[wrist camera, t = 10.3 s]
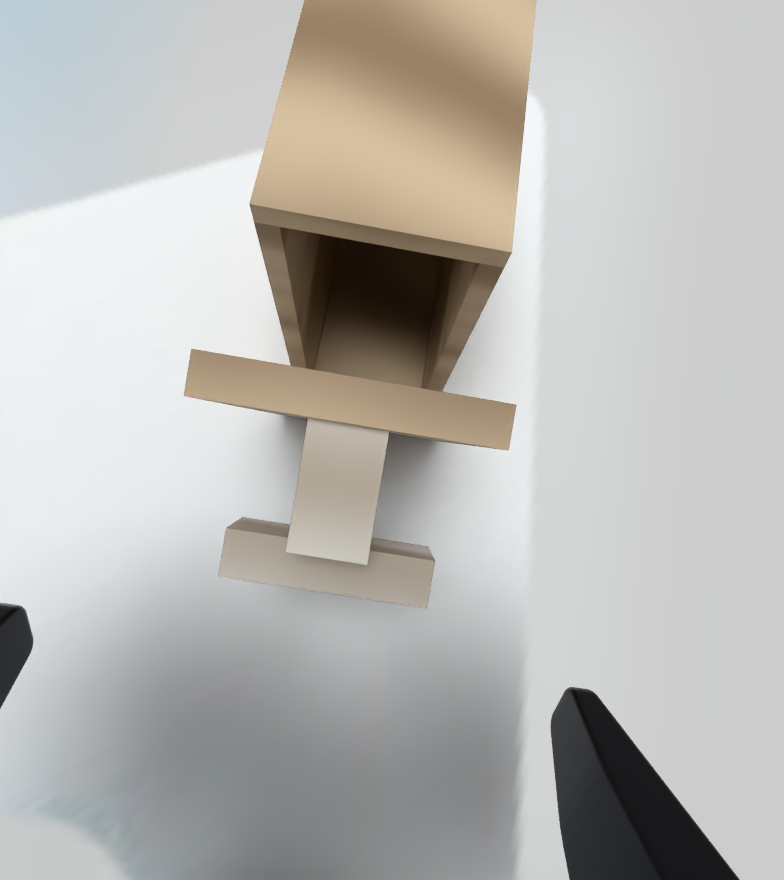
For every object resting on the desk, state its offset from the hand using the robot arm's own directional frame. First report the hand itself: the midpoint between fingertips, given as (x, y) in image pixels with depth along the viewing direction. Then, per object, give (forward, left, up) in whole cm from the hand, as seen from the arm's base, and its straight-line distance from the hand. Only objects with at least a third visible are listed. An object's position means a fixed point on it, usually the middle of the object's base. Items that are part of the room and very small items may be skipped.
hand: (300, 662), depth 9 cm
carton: (+5, -13, -13) cm, 19 cm away
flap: (+2, -6, -13) cm, 14 cm away
